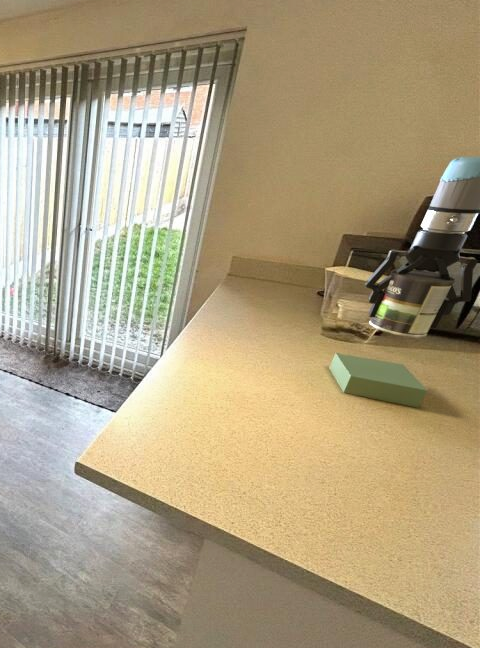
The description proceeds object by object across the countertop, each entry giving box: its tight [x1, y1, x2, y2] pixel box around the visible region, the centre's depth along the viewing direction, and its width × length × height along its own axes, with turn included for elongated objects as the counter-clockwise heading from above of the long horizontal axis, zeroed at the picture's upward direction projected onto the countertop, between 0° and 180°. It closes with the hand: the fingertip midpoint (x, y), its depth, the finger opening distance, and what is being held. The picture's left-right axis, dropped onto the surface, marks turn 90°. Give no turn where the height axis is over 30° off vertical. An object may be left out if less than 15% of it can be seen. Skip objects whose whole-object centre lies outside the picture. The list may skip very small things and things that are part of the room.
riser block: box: [328, 352, 428, 408], centre depth 103 cm, size 14×14×5 cm
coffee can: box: [368, 268, 456, 338], centre depth 95 cm, size 10×10×14 cm
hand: (400, 320), depth 97 cm, fingers closed on coffee can, 10 cm apart
